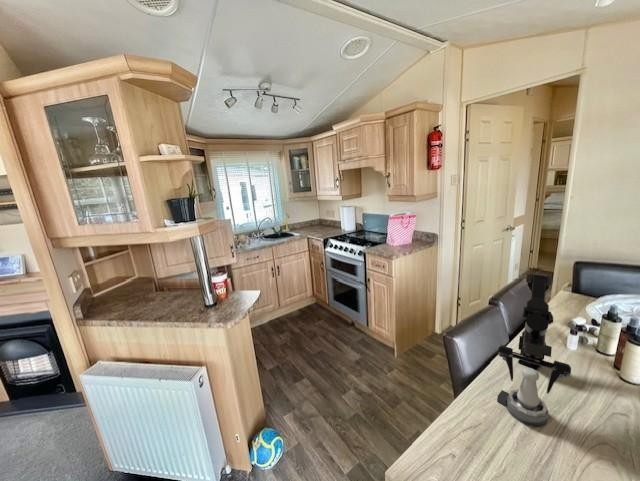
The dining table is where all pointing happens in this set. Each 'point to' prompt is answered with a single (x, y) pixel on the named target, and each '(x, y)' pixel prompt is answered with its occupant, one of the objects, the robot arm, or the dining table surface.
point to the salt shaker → (528, 389)
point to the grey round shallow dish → (524, 409)
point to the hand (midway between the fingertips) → (529, 386)
